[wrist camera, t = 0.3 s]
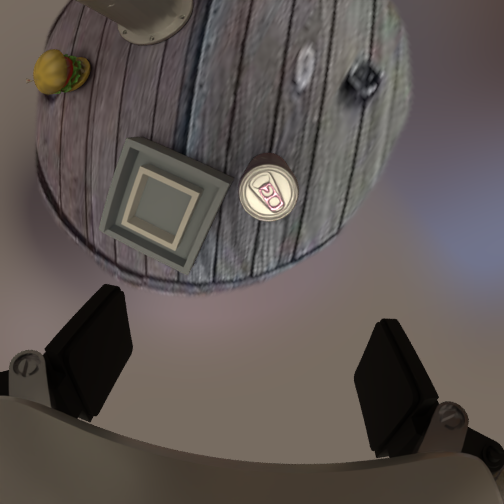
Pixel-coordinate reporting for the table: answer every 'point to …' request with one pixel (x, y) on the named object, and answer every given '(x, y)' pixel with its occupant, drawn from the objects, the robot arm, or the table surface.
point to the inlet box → (162, 202)
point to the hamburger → (59, 72)
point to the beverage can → (268, 188)
